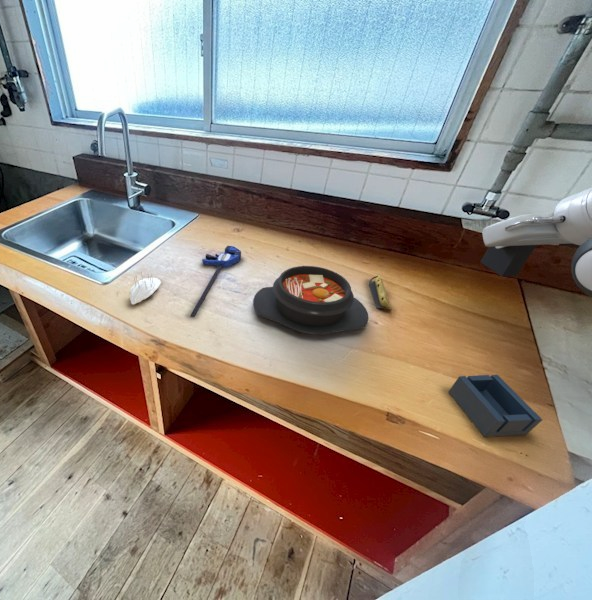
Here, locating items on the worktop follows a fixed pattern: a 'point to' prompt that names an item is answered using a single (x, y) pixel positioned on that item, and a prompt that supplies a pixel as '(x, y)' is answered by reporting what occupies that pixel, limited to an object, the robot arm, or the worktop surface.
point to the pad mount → (493, 406)
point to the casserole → (311, 302)
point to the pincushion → (143, 289)
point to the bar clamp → (219, 267)
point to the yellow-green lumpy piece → (379, 293)
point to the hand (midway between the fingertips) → (509, 244)
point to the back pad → (507, 259)
